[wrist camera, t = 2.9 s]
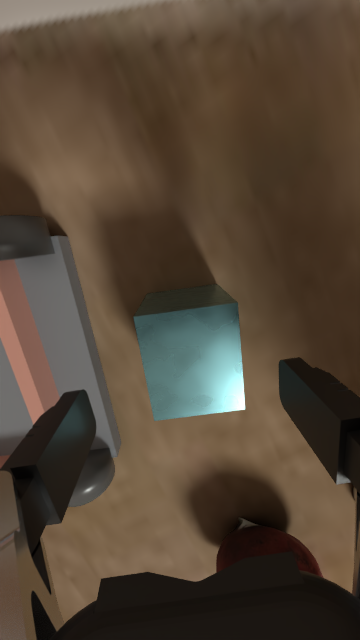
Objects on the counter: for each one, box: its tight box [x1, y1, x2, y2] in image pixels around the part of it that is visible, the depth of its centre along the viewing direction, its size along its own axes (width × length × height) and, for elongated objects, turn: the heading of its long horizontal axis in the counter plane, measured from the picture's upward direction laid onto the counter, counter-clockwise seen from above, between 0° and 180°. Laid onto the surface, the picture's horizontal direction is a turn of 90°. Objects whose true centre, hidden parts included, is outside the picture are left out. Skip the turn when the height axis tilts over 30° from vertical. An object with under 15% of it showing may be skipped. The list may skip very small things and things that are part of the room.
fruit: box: [216, 517, 323, 577], centre depth 20 cm, size 9×10×10 cm
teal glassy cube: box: [133, 284, 245, 421], centre depth 15 cm, size 5×6×6 cm
